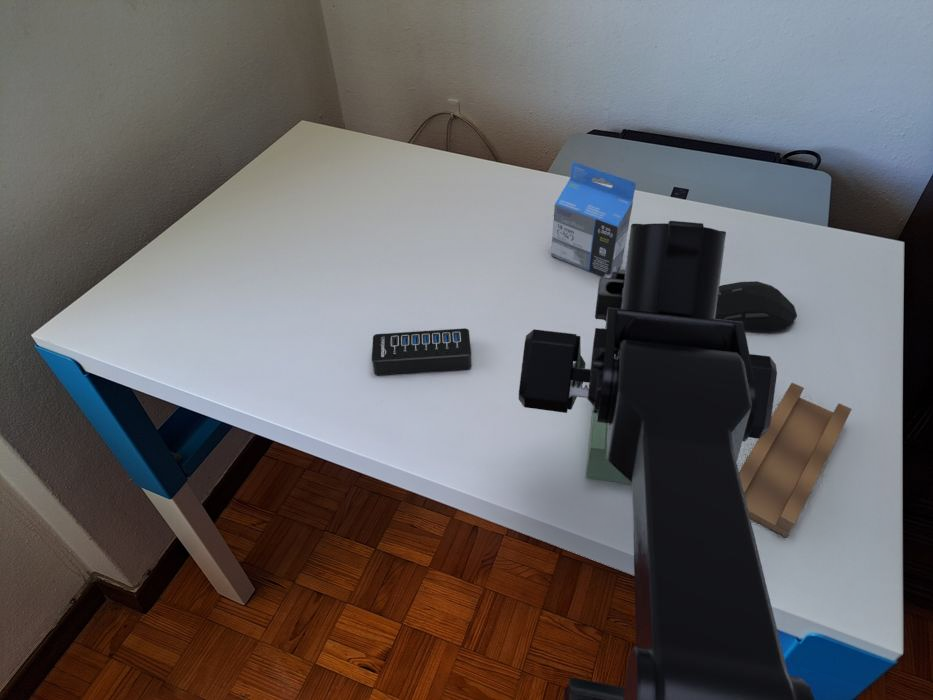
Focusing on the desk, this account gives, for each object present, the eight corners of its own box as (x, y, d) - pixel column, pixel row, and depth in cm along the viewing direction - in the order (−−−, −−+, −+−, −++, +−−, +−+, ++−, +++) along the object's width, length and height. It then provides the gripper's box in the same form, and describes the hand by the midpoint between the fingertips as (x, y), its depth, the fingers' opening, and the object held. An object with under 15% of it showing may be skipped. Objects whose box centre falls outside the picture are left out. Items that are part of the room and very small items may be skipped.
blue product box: (548, 256, 90) (554, 174, 81) (563, 241, 93) (570, 160, 84) (609, 280, 87) (622, 197, 78) (623, 264, 89) (637, 181, 80)
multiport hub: (471, 369, 77) (471, 355, 75) (374, 375, 77) (371, 361, 75) (469, 341, 80) (468, 327, 78) (375, 347, 80) (372, 333, 78)
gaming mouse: (662, 293, 85) (668, 268, 82) (787, 299, 83) (797, 273, 80) (667, 329, 80) (674, 304, 77) (799, 335, 79) (810, 310, 76)
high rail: (648, 487, 66) (657, 457, 62) (585, 477, 66) (590, 447, 63) (651, 366, 76) (658, 334, 73) (596, 359, 77) (601, 327, 74)
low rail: (786, 538, 61) (794, 524, 60) (722, 503, 64) (728, 488, 62) (842, 424, 70) (852, 408, 68) (784, 397, 73) (791, 382, 71)
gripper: (816, 282, 44) (754, 298, 59) (528, 254, 47) (540, 276, 62) (794, 453, 44) (738, 425, 60) (509, 414, 47) (526, 397, 63)
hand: (634, 377), depth 61 cm, fingers open, 9 cm apart
